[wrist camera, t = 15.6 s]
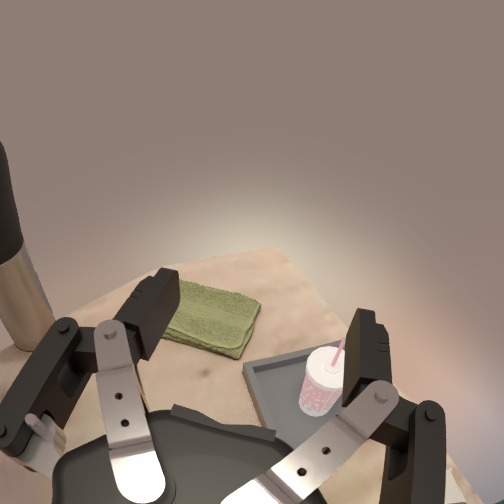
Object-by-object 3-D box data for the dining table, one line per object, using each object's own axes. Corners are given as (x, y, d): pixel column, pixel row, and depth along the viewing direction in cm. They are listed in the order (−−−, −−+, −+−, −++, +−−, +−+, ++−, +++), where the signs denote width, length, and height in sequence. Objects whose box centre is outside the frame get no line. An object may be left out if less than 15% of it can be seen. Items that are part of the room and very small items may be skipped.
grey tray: (242, 372, 44) (243, 362, 43) (338, 349, 49) (342, 339, 47) (279, 471, 32) (282, 465, 31) (385, 430, 36) (393, 422, 35)
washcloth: (241, 365, 46) (243, 352, 44) (137, 333, 49) (134, 320, 47) (262, 307, 56) (264, 294, 55) (171, 284, 59) (169, 271, 57)
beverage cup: (333, 384, 42) (364, 318, 34) (338, 420, 37) (377, 361, 29) (292, 384, 42) (313, 317, 34) (294, 421, 37) (319, 362, 29)
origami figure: (455, 472, 29) (474, 459, 26) (445, 523, 23) (467, 515, 20) (384, 459, 33) (400, 446, 30) (368, 513, 26) (385, 506, 24)
